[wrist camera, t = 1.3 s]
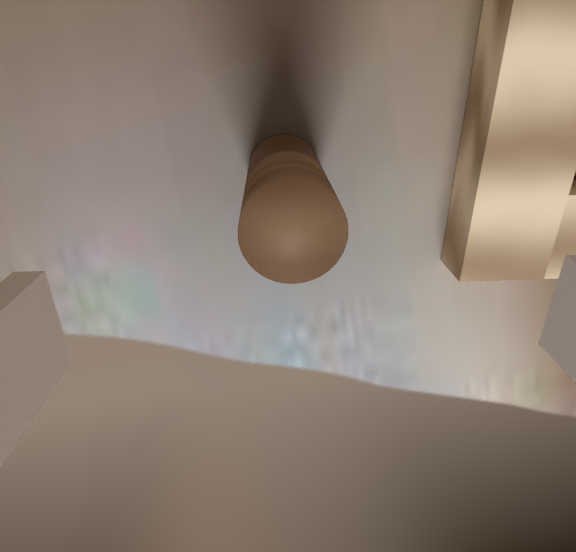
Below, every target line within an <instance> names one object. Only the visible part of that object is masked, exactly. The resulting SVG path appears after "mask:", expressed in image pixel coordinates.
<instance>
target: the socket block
mask: <svg viewBox="0 0 576 552" xmlns="http://www.w3.org/2000/svg"><path fill="white" fill-rule="evenodd" d="M575 172H576V0H483V6H482V12H481V18H480V25H479V31H478V37H477V43H476V49H475V55H474V61H473V67H472V73H471V79H470V85H469V91H468V98H467V104H466V110H465V116H464V122H463V128H462V134H461V140H460V146H459V152H458V158H457V165H456V171H455V177H454V183H453V189H452V195H451V201H450V207H449V213H448V219H447V225H446V231H445V238H444V244H443V250H442V256H441V261H442V262H443V263H444V264H445V266H446V267H447V268H448V269H449V270H450V271H451V272H452V274H453V275H454V276H455V277H456V278H457V279H458V281H459V282H470V281H499V280H528V279H557V278H559V275H560V271H561V268H562V265H563V262H564V258H565V255H576V180H573V179H574V175H575Z"/></svg>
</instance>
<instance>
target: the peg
mask: <svg viewBox="0 0 576 552" xmlns="http://www.w3.org/2000/svg"><path fill="white" fill-rule="evenodd" d="M347 239H348V222H347V218H346V215H345V212H344V210H343V208H342V206H341V204H340V202H339V200H338V198H337V196H336V194H335V192H334V190H333V188H332V186H331V184H330V182H329V180H328V178H327V176H326V174H325V172H324V170H323V168H322V166H321V164H320V162H319V160H318V159H317V157H316V155H315V153H314V151H313V149H312V148H311V147H310V146H309V144H307V143H306V142H305V141H304V140H302V139H301V138H298V137H296V136H293V135H288V134H280V135H275V136H272V137H269V138H267V139H265V140H264V141H263V142H261V143H260V144H259V145H258V146H257V148H256V149H255V150H254V152H253V154H252V156H251V159H250V162H249V168H248V173H247V179H246V185H245V190H244V196H243V201H242V207H241V213H240V218H239V224H238V242H239V246H240V249H241V252H242V254H243V256H244V258H245V259H246V261H247V262H248V263H249V265H250V266H251V267H252V268H253V269H254V270H255V271H257V272H258V273H259V274H261V275H262V276H264V277H266V278H268V279H270V280H273V281H276V282H280V283H288V284H295V283H303V282H308V281H311V280H314V279H316V278H318V277H320V276H322V275H323V274H325V273H326V272H327V271H329V270H330V269H331V268H332V267H333V266H334V265H335V264H336V263H337V261H338V260H339V259H340V257H341V255H342V254H343V252H344V249H345V247H346V243H347Z"/></svg>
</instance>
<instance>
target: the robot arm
mask: <svg viewBox="0 0 576 552" xmlns="http://www.w3.org/2000/svg"><path fill="white" fill-rule="evenodd" d="M539 345H540V346H541V347H542V348H543V349H544V350H545V351H546V352H547V353H548V354H549V355H550V356H551V357H552V358H553V359H554V360H555V361H556V362H557V363H558V364H559V366H560V367H561V368H562V369H563V370H564V371H565V372H566V373H567V374H568V375H569V376H570V377H571V378H572V379H573V380H574V381H575V382H576V255H565V258H564V262H563V265H562V268H561V271H560V275H559V278H558V281H557V285H556V288H555V291H554V294H553V298H552V301H551V304H550V308H549V311H548V314H547V317H546V321H545V324H544V327H543V331H542V334H541V337H540V341H539ZM71 361H72V359H71V356H70V353H69V349H68V346H67V343H66V339H65V336H64V333H63V330H62V326H61V323H60V320H59V317H58V313H57V310H56V307H55V303H54V300H53V297H52V294H51V290H50V287H49V284H48V281H47V277H46V274H45V271H33V272H13V273H11V274H10V275H9V276H8V277H6V278H5V279H4V280H3V281H1V282H0V467H1V466H2V464H3V463H4V461H5V460H6V458H7V457H8V455H9V454H10V452H11V451H12V449H13V448H14V446H15V445H16V443H17V442H18V440H19V439H20V437H21V436H22V434H23V433H24V431H25V430H26V428H27V427H28V426H29V424H30V422H31V421H32V419H33V418H34V416H35V415H36V414H37V412H38V410H39V409H40V408H41V406H42V405H43V403H44V402H45V400H46V398H47V397H48V396H49V394H50V393H51V391H52V390H53V388H54V387H55V385H56V384H57V382H58V381H59V379H60V378H61V376H62V375H63V373H64V372H65V370H66V369H67V367H68V366H69V364H70V363H71Z"/></svg>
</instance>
